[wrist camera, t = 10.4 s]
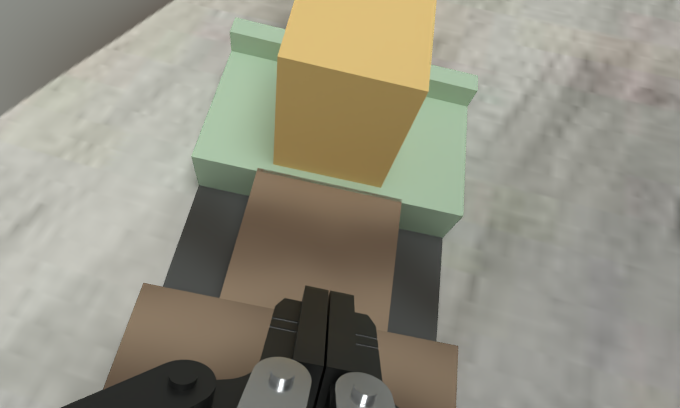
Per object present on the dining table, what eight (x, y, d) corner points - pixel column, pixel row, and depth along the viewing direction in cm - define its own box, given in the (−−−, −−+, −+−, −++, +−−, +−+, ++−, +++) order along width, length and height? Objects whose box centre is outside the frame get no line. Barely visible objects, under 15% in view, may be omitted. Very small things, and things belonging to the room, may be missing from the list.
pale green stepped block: (440, 239, 28) (474, 204, 23) (199, 187, 27) (187, 140, 22) (448, 124, 32) (477, 75, 27) (239, 75, 31) (235, 17, 26)
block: (380, 187, 25) (428, 91, 17) (273, 164, 24) (277, 56, 17) (392, 103, 27) (437, -10, 20) (295, 81, 27) (307, -42, 20)
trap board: (418, 587, 20) (447, 617, 17) (77, 531, 19) (41, 552, 16) (441, 236, 28) (463, 212, 25) (200, 184, 27) (192, 153, 24)
